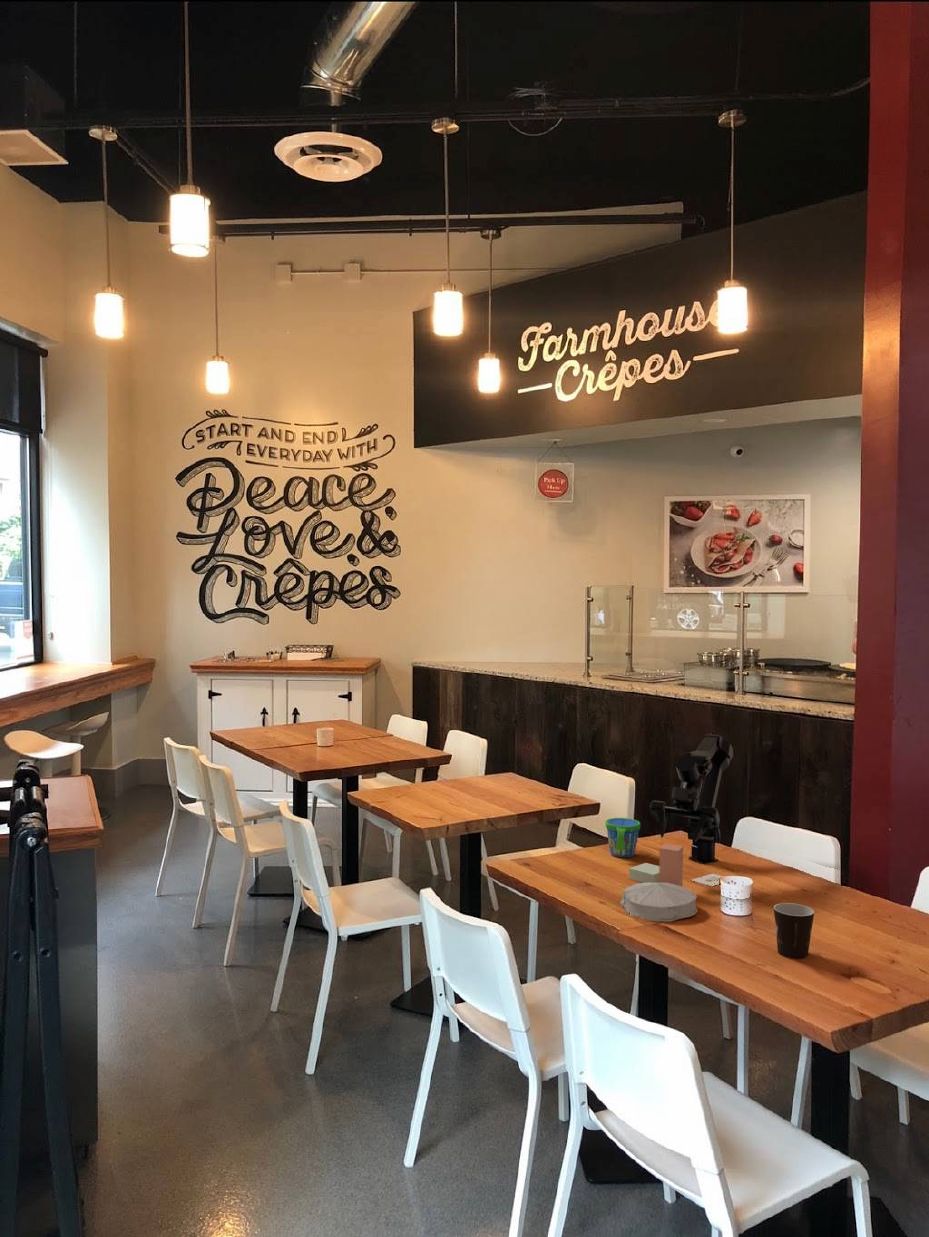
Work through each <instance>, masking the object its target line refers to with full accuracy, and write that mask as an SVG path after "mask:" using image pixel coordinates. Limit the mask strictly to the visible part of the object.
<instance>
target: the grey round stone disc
mask: <svg viewBox="0 0 929 1237" xmlns="http://www.w3.org/2000/svg"><path fill="white" fill-rule="evenodd" d="M621 896H622V899H621V900H620V904H619V905H620V906H621V907H623V906H624V907H625V908H626V909H625V908H624V909H625V912H627V913H628V914H629V913H630V915H629V916H631V915H632V916H631V917H633V916H636V917H635V918H637V917H640V918H641V920H644V919H647V920H646V921H651V922H669V923H670V922H674V921H677V920H681V919H685V918H690V917H692V916H695V915H696V914H697V913H698V912H699V910H698V908H697V906H696V905H697V903H696V899H697V898H698V896H697V895H696V893H695V892H694V891H692V890H690V889H689V888H686V887H684V886H683V887H682V886H678V885H675V884H669V883H656V882H654V883H652V882H650V883H646V882H644V883H642V882H639V883H636V884H632V885H629V886H627V887H626V888H624V890H623V891H622V894H621ZM626 910H627V911H626ZM627 913H626V914H627ZM640 918H639V919H640Z"/></svg>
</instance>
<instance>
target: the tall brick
mask: <svg viewBox="0 0 929 1237" xmlns="http://www.w3.org/2000/svg"><path fill="white" fill-rule="evenodd" d="M658 866H659V883H669V884H675V885H678V886H682V887H684V886H683V881H684V880H683V879H684V878H683V875H684V871H683V870H684V846H683V845H677V844H675V845H674V844H667V843H664V844H663V845H662V846H661V847H660V848H659V865H658Z"/></svg>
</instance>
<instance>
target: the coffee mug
mask: <svg viewBox="0 0 929 1237" xmlns="http://www.w3.org/2000/svg"><path fill="white" fill-rule="evenodd" d="M773 914H774V915H773V916H774V925H775V936H776V944H777V948H776V949H777V953H778V954H779V955H780V956H782V957H784V958H788V959H795V960H803V959H807V958H808V957H809V949H810V944H811V943H810V942H811V935H812V930H813V924H814V915H815V910H814V909H813V908H811V907H810V906H807V905H805V904H804V905H803V904H801V903H800V904H799V903H794V902H793V903H792V902H783V903H777V904H774V906H773Z"/></svg>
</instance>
